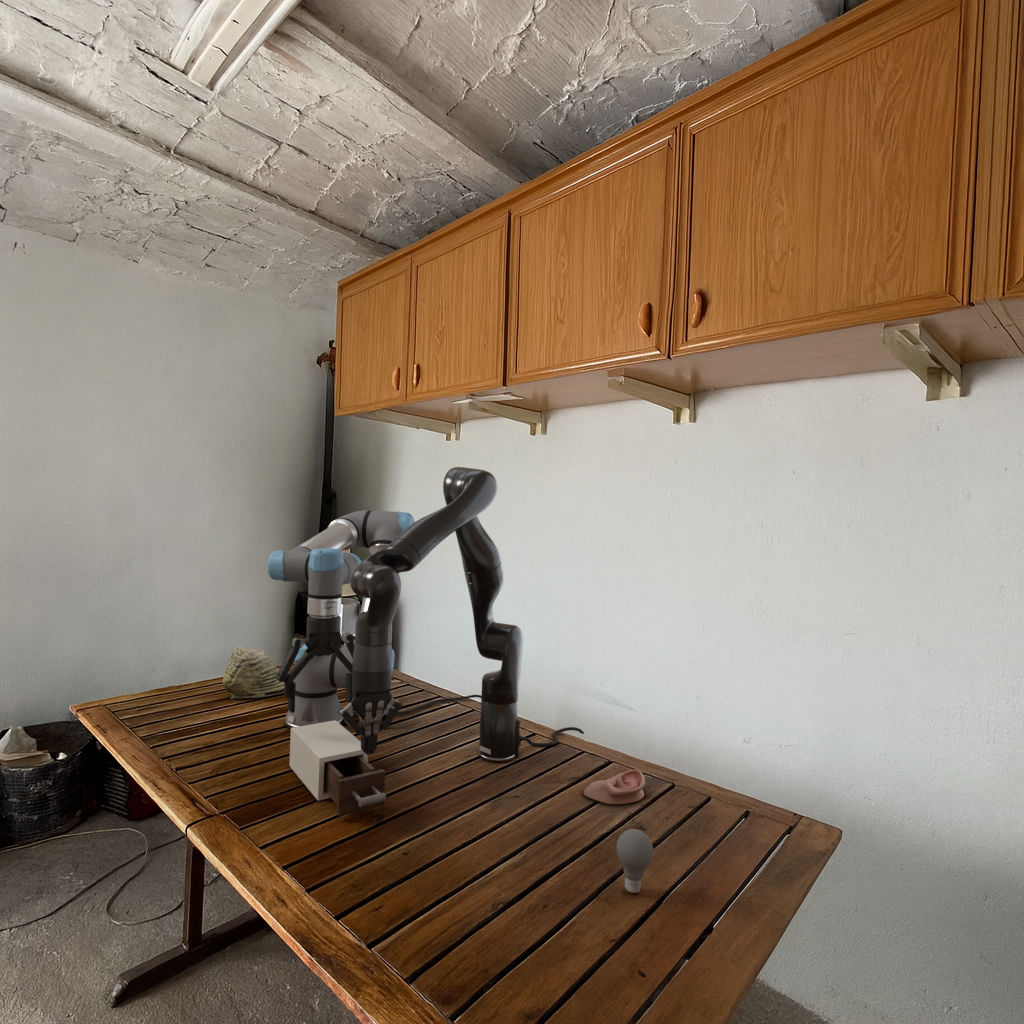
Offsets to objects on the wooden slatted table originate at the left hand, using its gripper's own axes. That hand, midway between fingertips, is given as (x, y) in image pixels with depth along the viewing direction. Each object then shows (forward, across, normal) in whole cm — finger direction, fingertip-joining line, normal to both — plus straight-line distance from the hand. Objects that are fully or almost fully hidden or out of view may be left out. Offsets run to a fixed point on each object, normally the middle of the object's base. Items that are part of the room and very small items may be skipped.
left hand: (320, 706), depth 147 cm
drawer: (+13, 0, -19) cm, 23 cm away
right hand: (+1, 0, -28) cm, 28 cm away
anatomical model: (+14, +51, -45) cm, 70 cm away
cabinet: (+14, 0, -6) cm, 16 cm away
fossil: (+15, +1, +62) cm, 63 cm away
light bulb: (+14, +29, -72) cm, 79 cm away
